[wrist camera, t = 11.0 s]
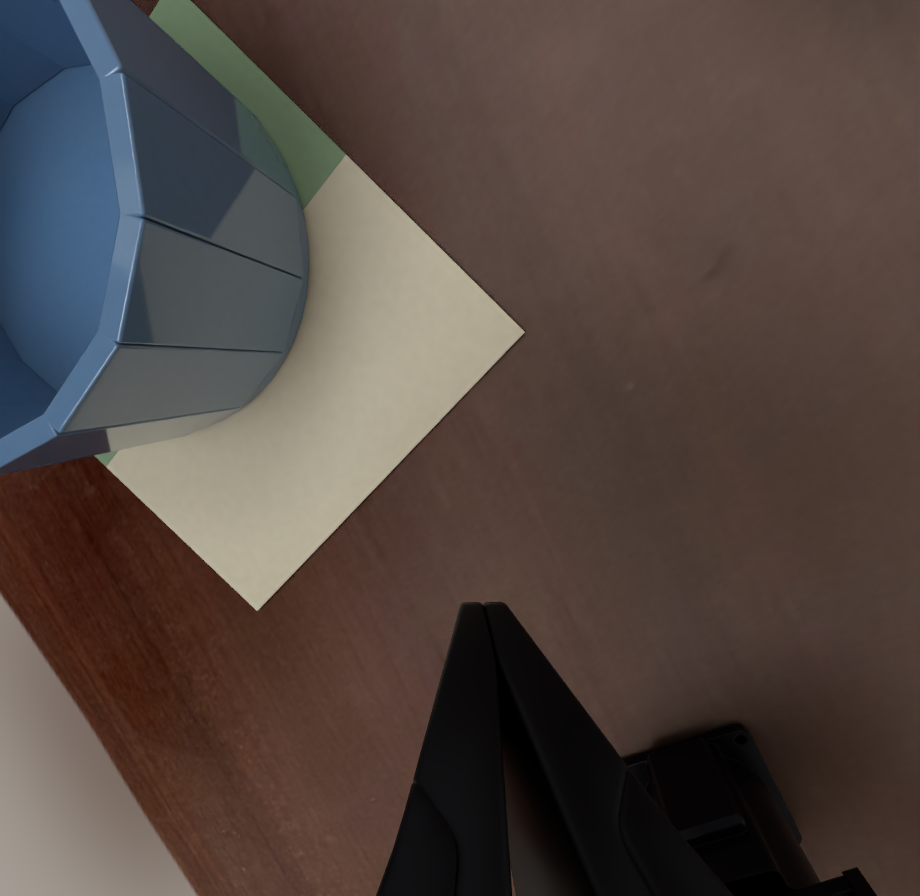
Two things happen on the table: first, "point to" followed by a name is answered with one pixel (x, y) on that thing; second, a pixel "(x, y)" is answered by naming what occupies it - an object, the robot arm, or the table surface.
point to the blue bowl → (132, 237)
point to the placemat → (319, 359)
